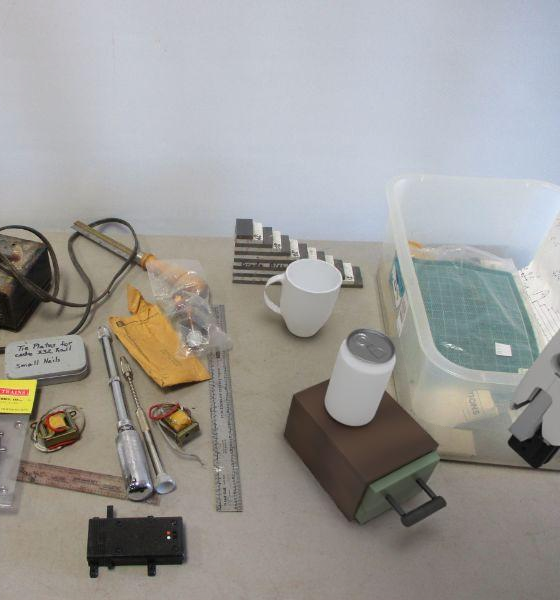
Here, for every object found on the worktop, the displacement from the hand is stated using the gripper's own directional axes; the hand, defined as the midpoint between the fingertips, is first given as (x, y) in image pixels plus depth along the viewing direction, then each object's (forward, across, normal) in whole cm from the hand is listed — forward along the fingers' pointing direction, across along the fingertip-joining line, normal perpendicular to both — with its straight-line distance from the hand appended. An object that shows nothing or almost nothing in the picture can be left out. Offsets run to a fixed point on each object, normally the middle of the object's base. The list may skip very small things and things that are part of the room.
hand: (526, 453), depth 54 cm
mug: (+25, +9, +42) cm, 50 cm away
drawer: (+24, 0, +13) cm, 28 cm away
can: (+16, 0, +19) cm, 25 cm away
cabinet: (+25, 0, +17) cm, 30 cm away
